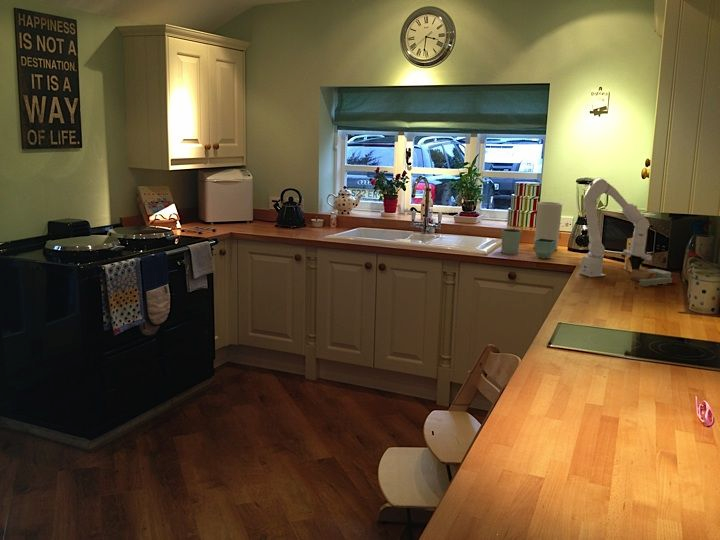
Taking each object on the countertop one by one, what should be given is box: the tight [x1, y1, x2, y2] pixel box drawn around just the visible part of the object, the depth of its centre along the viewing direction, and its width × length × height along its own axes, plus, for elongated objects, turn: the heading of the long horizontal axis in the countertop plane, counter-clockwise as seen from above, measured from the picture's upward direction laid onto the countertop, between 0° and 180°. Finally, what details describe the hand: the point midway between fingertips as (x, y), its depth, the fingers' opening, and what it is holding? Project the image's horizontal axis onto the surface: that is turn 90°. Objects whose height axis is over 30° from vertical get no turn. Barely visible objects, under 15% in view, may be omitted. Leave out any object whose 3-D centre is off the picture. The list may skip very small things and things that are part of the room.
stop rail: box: [638, 277, 674, 287], centre depth 308 cm, size 18×2×2 cm, turn 117°
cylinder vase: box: [533, 201, 563, 252], centre depth 377 cm, size 12×12×25 cm
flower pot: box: [534, 238, 556, 259], centre depth 356 cm, size 9×9×9 cm
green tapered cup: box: [501, 228, 522, 255], centre depth 364 cm, size 10×10×12 cm
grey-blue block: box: [647, 268, 672, 278], centre depth 316 cm, size 6×8×4 cm
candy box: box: [623, 237, 643, 273], centre depth 332 cm, size 9×4×15 cm, turn 8°
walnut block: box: [630, 268, 656, 282], centre depth 314 cm, size 6×8×4 cm
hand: (634, 272), depth 318 cm, fingers closed
